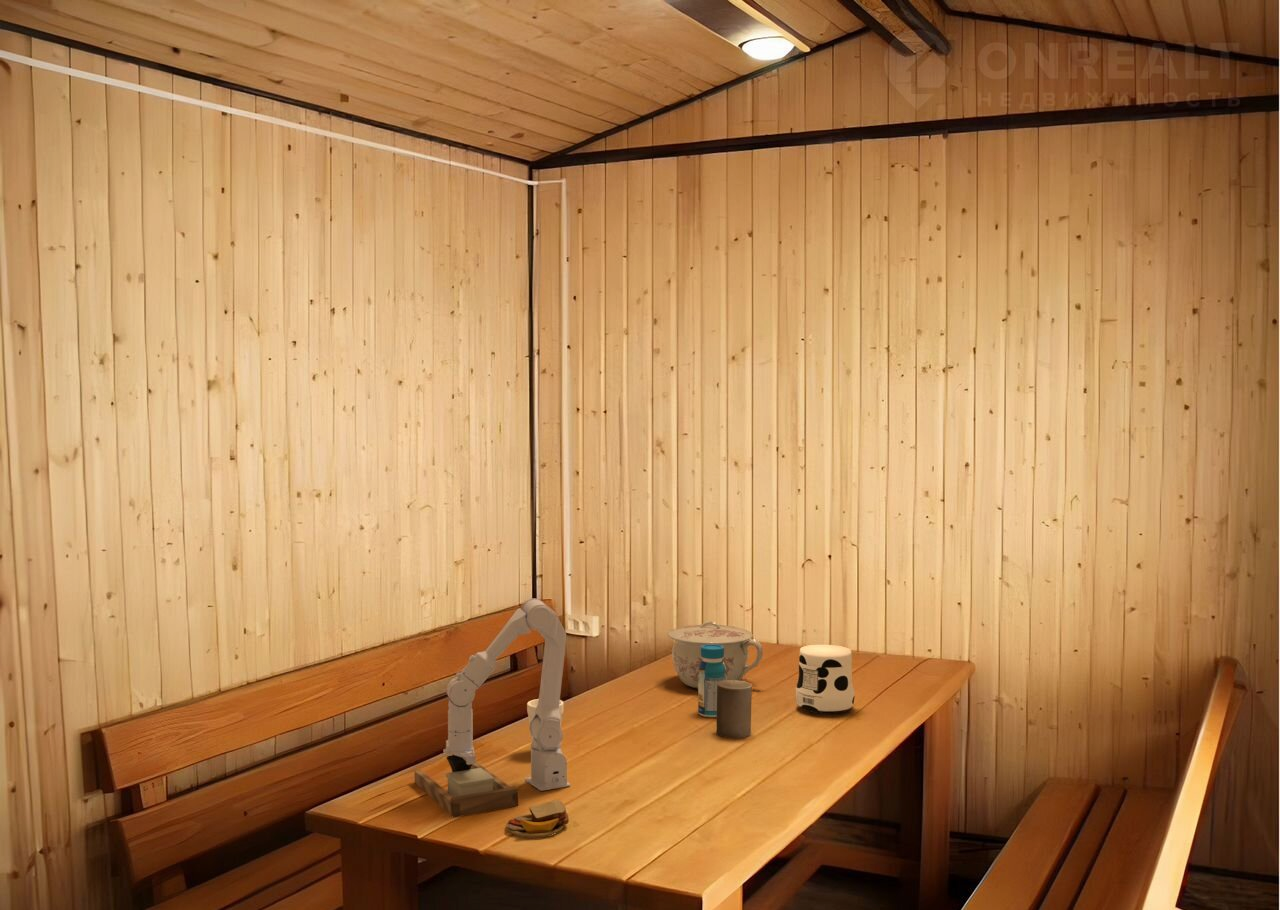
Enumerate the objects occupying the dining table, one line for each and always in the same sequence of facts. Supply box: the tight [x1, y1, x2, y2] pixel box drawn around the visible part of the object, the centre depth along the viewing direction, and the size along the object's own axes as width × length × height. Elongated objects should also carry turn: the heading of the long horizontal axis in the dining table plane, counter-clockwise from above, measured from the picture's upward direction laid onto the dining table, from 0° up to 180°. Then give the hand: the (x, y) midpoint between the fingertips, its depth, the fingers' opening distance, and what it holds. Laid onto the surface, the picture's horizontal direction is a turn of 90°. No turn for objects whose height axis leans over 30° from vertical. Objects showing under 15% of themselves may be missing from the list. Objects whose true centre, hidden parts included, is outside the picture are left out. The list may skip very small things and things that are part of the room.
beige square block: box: [445, 768, 495, 797], centre depth 274 cm, size 9×9×5 cm
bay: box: [414, 761, 519, 818], centre depth 277 cm, size 26×16×4 cm, turn 29°
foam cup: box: [526, 698, 565, 742], centre depth 309 cm, size 10×9×13 cm
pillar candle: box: [715, 680, 753, 739], centre depth 327 cm, size 10×10×15 cm
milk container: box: [795, 644, 856, 715], centre depth 351 cm, size 17×17×18 cm
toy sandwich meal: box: [505, 799, 570, 839], centre depth 256 cm, size 12×14×5 cm
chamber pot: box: [667, 620, 764, 690], centre depth 380 cm, size 28×28×21 cm
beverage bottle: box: [697, 644, 727, 718], centre depth 346 cm, size 8×8×20 cm
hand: (460, 786), depth 279 cm, fingers closed
